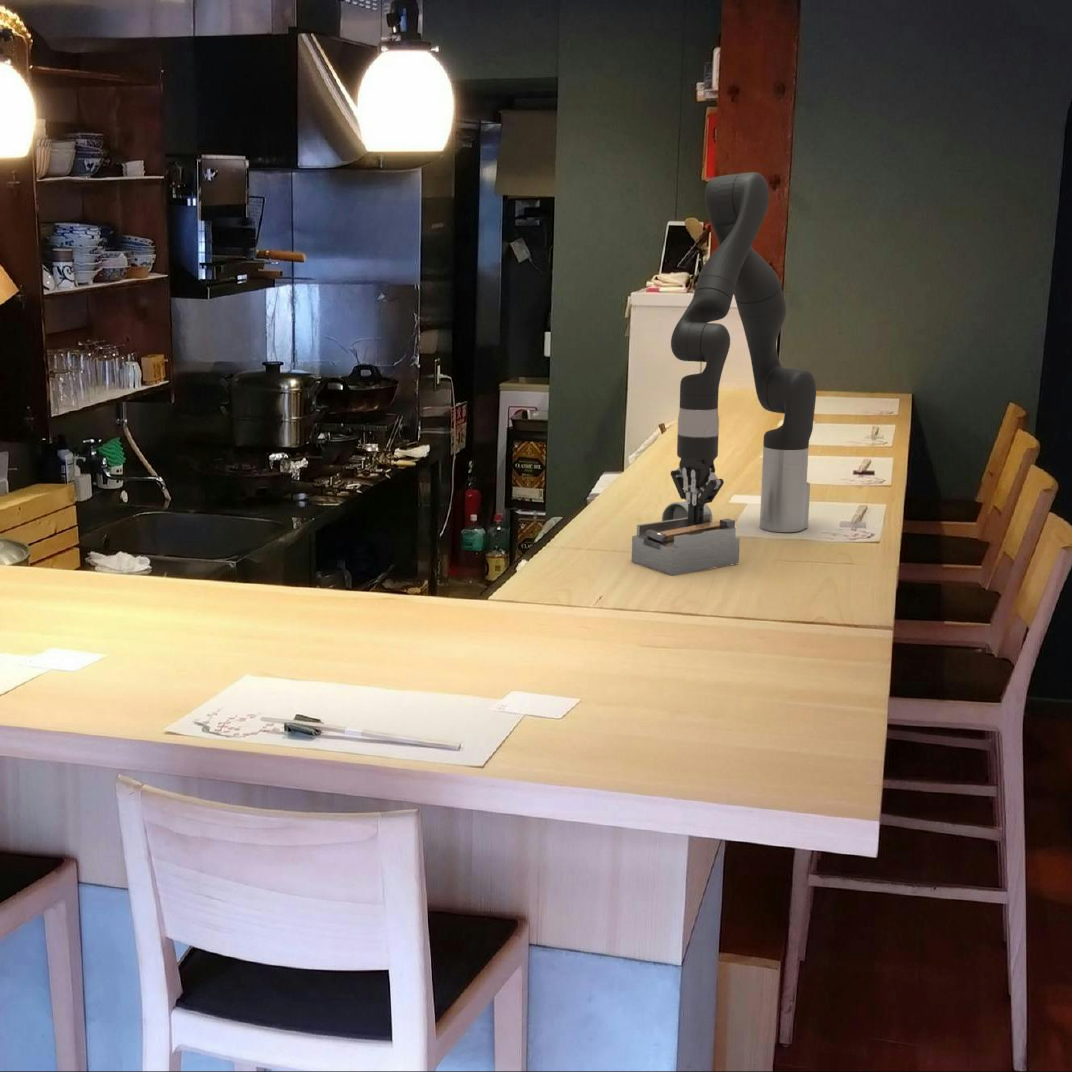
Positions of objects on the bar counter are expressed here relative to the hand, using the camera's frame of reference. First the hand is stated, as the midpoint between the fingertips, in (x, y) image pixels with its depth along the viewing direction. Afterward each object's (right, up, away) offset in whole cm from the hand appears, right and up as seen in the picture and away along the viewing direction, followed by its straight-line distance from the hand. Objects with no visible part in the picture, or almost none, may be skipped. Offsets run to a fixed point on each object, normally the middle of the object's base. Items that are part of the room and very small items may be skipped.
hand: (695, 523), depth 252 cm
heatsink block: (-2, -7, +1) cm, 8 cm away
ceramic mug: (0, -3, +22) cm, 22 cm away
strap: (-1, -2, 0) cm, 2 cm away
